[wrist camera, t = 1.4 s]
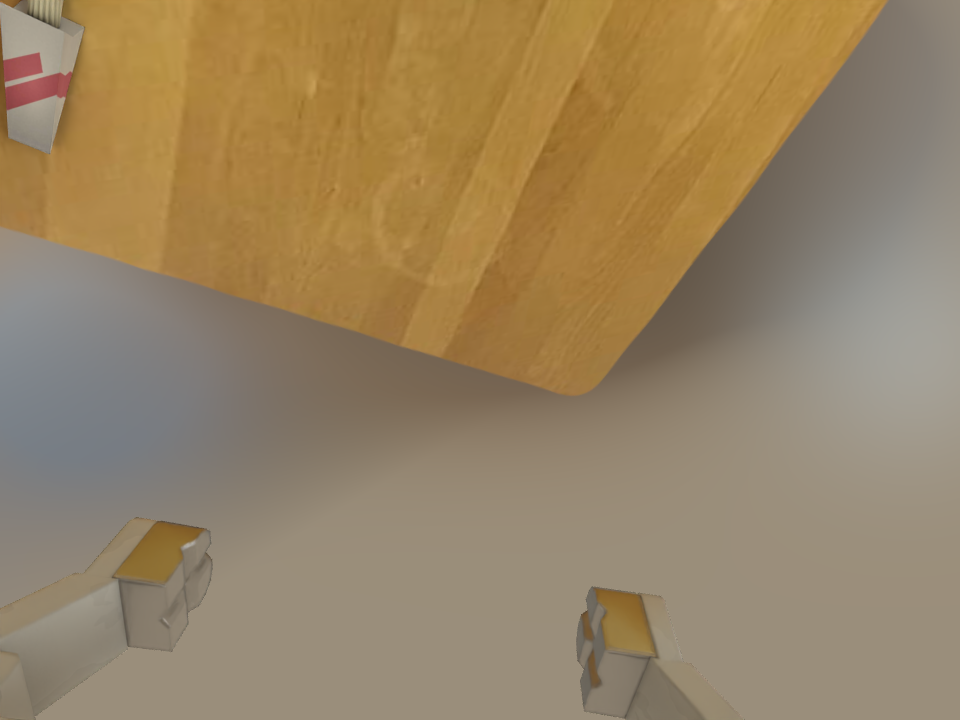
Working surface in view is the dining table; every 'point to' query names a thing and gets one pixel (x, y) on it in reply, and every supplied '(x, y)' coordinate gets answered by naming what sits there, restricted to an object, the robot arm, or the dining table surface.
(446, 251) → the dining table surface
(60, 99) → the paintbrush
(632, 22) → the dining table surface
